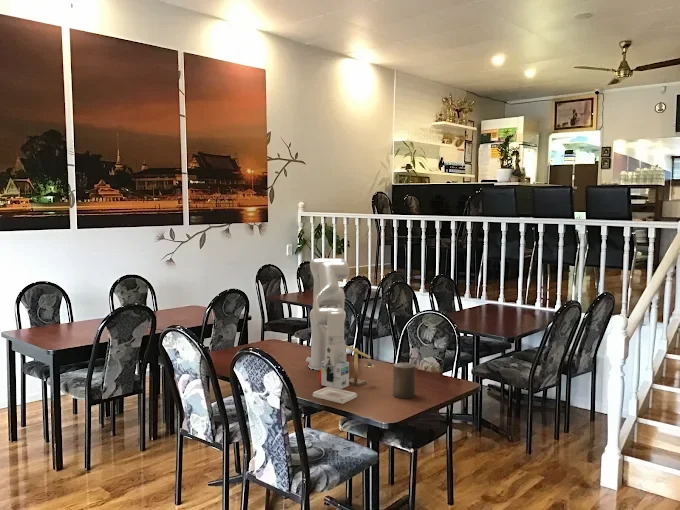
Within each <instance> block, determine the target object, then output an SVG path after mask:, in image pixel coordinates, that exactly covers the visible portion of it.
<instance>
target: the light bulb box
mask: <svg viewBox="0 0 680 510" xmlns="http://www.w3.org/2000/svg"><path fill="white" fill-rule="evenodd" d="M324 363H325V360H324V361H322V362H321V384H320V385H321V386H322V385H324V386H326V387H327V386H328V387H332V388H336V389H341V390H343V389H344V388H347V387H348V386H350V384H349V379H350V361H347V360H346V361H344V362H341V363H338V364H336V367H333V372H332V373H333V382H329V381H327V372H326V370H325V368H324V367H323V365H324ZM329 365H331V363H329ZM329 368H330V370H331V367H329ZM324 386H323V387H324Z"/></svg>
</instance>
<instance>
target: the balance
mask: <svg viewBox="0 0 680 510" xmlns="http://www.w3.org/2000/svg"><path fill="white" fill-rule="evenodd" d="M345 346H346V349H348V350H350V351H353V353H354V355H353V357H354V358H353V361H354V362H353V364H354V366H353V368H354V369H353V370H354V371H353V377H351V378H349V385H351V384H352V385H351V386H355V385H356V387H361V386H363V385H366V384H367V380H363V379H360V378H358V368H359V367H358V365H359V363H358V360H359V359H358V358H359V356H358V354H359V355H361V356H363V357H364V358H367V359H369V360H368V361H367V364H365V365H364V368H368V369H373V368H375V367H376V366H375V365H374V364H373V362H372V361H371V358H372V357H371V356H370V355H368V354H367V353H364V352H362V351H361V350H359V348H357V347H356V348H355V347H354V348H353V347H351V346H349V345H347V344H345ZM347 355H348V352H347V351H346V356H347Z"/></svg>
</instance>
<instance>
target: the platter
mask: <svg viewBox="0 0 680 510" xmlns="http://www.w3.org/2000/svg"><path fill="white" fill-rule="evenodd" d="M312 397H313V398H317V399H320V400H321V399H323V400H326V401H330V402H334V403H338V404H346V403H347V402H349V401H352V400H354V399H355V398H357V397H358V393H357V392H354V391H350V390H349V391H348V390H345V389H338V388H333V387H327V386H326V387H323V388H321V389H318V390H316V391H314V392H312Z"/></svg>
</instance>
